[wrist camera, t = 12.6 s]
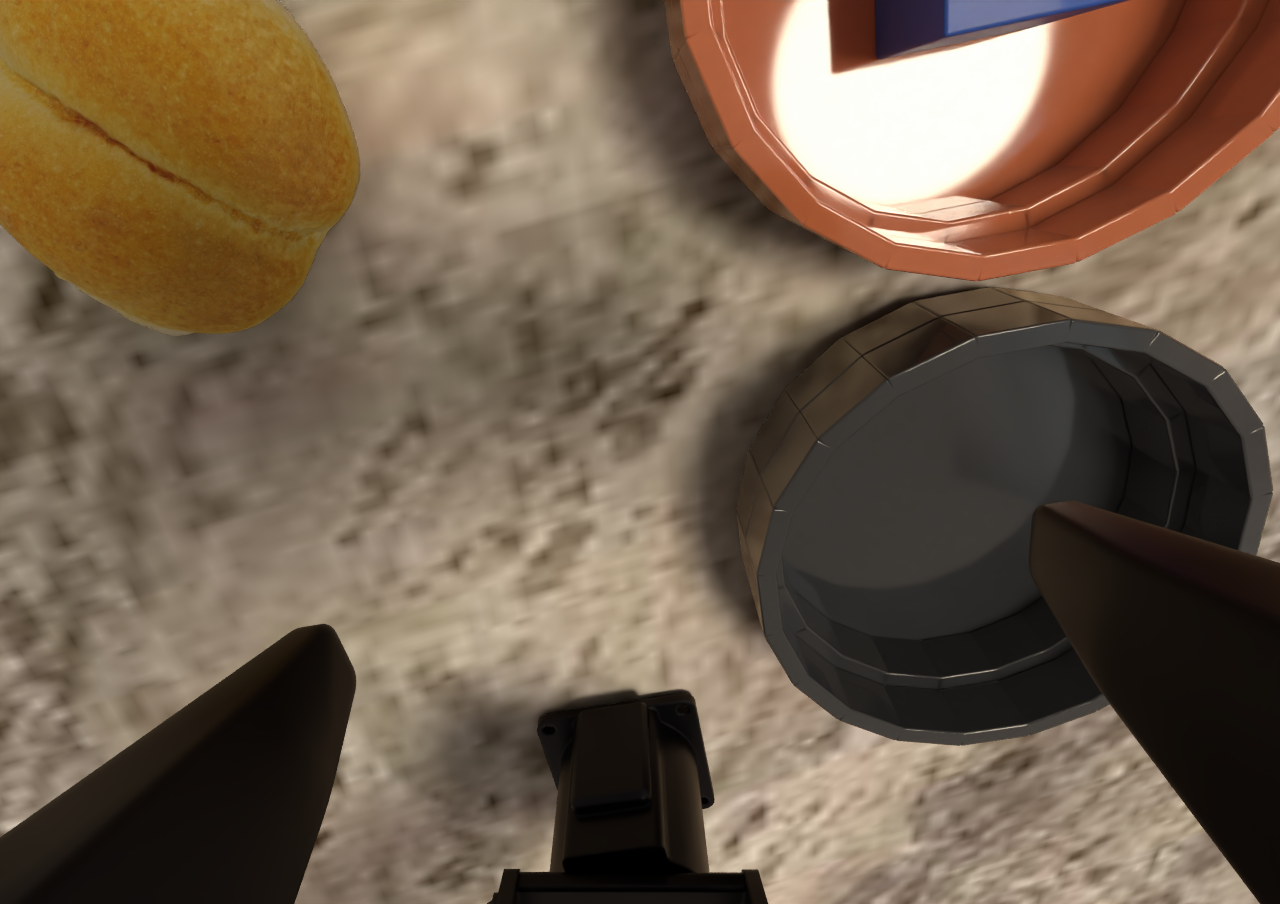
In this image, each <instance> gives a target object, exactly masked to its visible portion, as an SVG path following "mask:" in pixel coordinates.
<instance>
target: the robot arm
mask: <svg viewBox="0 0 1280 904" xmlns="http://www.w3.org/2000/svg"><path fill="white" fill-rule="evenodd" d="M1028 564H1029V570H1030V574H1031V576H1032V579H1033V581H1034V583H1035V584H1036V586H1037V588H1038V589H1039V591H1040V593H1041V594H1042V596H1043V598H1044V599H1045V601H1046V603H1047V604H1048V606H1049V608H1050V609H1051V611H1052V613H1053V614H1054V616H1055V618H1056V619H1057V621H1058V623H1059V624H1060V626H1061V628H1062V629H1063V631H1064V633H1065V634H1066V636H1067V638H1068V639H1069V641H1070V643H1071V644H1072V646H1073V648H1074V649H1075V651H1076V653H1077V654H1078V656H1079V658H1080V659H1081V661H1082V663H1083V664H1084V666H1085V668H1086V669H1087V671H1088V673H1089V674H1090V676H1091V677H1092V679H1093V680H1094V682H1095V683H1096V685H1097V687H1098V688H1099V689H1100V691H1101V692H1102V694H1103V695H1104V696H1105V698H1106V699H1107V701H1108V702H1109V703H1110V705H1111V706H1112V708H1113V709H1114V710H1115V712H1116V713H1117V714H1118V716H1119V717H1120V718H1121V720H1122V721H1123V722H1124V723H1125V725H1126V726H1127V727H1128V729H1129V730H1130V731H1131V733H1132V734H1133V735H1134V737H1135V738H1136V739H1137V741H1138V742H1139V743H1140V745H1141V746H1142V747H1143V749H1144V750H1145V751H1146V753H1147V754H1148V755H1149V757H1150V758H1151V759H1152V761H1153V762H1154V763H1155V765H1156V766H1157V767H1158V769H1159V770H1160V771H1161V773H1162V774H1163V775H1164V777H1165V778H1166V779H1167V781H1168V782H1169V783H1170V785H1171V786H1172V787H1173V789H1174V790H1175V791H1176V793H1177V794H1178V795H1179V797H1180V798H1181V799H1182V801H1183V802H1184V803H1185V805H1186V806H1187V807H1188V809H1189V810H1190V811H1191V813H1192V814H1193V815H1194V817H1195V818H1196V819H1197V821H1198V822H1199V823H1200V825H1201V826H1202V827H1203V829H1204V830H1205V831H1206V833H1207V834H1208V835H1209V837H1210V838H1211V839H1212V841H1213V842H1214V843H1215V845H1216V846H1217V847H1218V849H1219V850H1220V851H1221V853H1222V854H1223V855H1224V857H1225V858H1226V859H1227V860H1228V862H1229V863H1230V864H1231V866H1232V867H1233V868H1234V870H1235V871H1236V872H1237V874H1238V875H1239V876H1240V878H1241V879H1242V880H1243V882H1244V883H1245V884H1246V886H1247V887H1248V888H1249V890H1250V891H1251V892H1252V894H1253V895H1254V896H1255V898H1256V899H1257V900H1258V902H1259V903H1260V904H1280V563H1278V562H1274V561H1271V560H1268V559H1265V558H1261V557H1258V556H1255V555H1251V554H1248V553H1245V552H1242V551H1238V550H1235V549H1232V548H1228V547H1225V546H1222V545H1219V544H1215V543H1212V542H1209V541H1205V540H1202V539H1199V538H1196V537H1192V536H1189V535H1186V534H1182V533H1179V532H1176V531H1173V530H1169V529H1166V528H1163V527H1159V526H1156V525H1153V524H1150V523H1146V522H1143V521H1140V520H1136V519H1133V518H1130V517H1126V516H1123V515H1120V514H1117V513H1113V512H1110V511H1107V510H1103V509H1100V508H1097V507H1094V506H1090V505H1087V504H1084V503H1080V502H1077V501H1063V502H1057V503H1051V504H1045V505H1040V506H1039V507H1037V508H1036V509H1035V511H1034V513H1033V516H1032V523H1031V534H1030V546H1029V558H1028ZM355 689H356V675H355V671H354V668H353V666H352V664H351V662H350V660H349V658H348V655H347V653H346V651H345V649H344V647H343V645H342V643H341V641H340V639H339V637H338V635H337V633H336V632H335V630H334V629H333V628H332V627H331V626H330V625H327V624H319V625H313V626H307V627H301V628H297V629H295V630H293V631H291V632H290V633H288V634H287V635H286V636H284V637H283V638H281V639H280V640H279V641H277V642H276V643H274V644H273V645H272V646H270V647H269V648H267V649H266V650H264V651H263V652H262V653H260V654H259V655H257V656H256V657H255V658H253V659H252V660H250V661H249V662H248V663H246V664H245V665H243V666H242V667H240V668H239V669H238V670H236V671H235V672H233V673H232V674H231V675H229V676H228V677H226V678H225V679H223V680H222V681H221V682H219V683H218V684H216V685H215V686H214V687H212V688H211V689H209V690H208V691H207V692H205V693H204V694H202V695H201V696H199V697H198V698H197V699H195V700H194V701H192V702H191V703H190V704H188V705H187V706H185V707H184V708H183V709H181V710H180V711H178V712H177V713H175V714H174V715H173V716H171V717H170V718H168V719H167V720H166V721H164V722H163V723H161V724H160V725H158V726H157V727H156V728H154V729H153V730H151V731H150V732H149V733H147V734H146V735H144V736H143V737H142V738H140V739H139V740H137V741H136V742H134V743H133V744H132V745H130V746H129V747H127V748H126V749H125V750H123V751H122V752H120V753H119V754H118V755H116V756H115V757H113V758H112V759H110V760H109V761H108V762H106V763H105V764H103V765H102V766H101V767H99V768H98V769H96V770H95V771H94V772H92V773H91V774H89V775H88V776H86V777H85V778H84V779H82V780H81V781H79V782H78V783H77V784H75V785H74V786H72V787H71V788H69V789H68V790H67V791H65V792H64V793H62V794H61V795H60V796H58V797H57V798H55V799H54V800H53V801H51V802H50V803H48V804H47V805H45V806H44V807H43V808H41V809H40V810H38V811H37V812H36V813H34V814H33V815H31V816H30V817H29V818H27V819H26V820H24V821H23V822H21V823H20V824H19V825H17V826H16V827H14V828H13V829H12V830H10V831H9V832H7V833H6V834H4V835H3V836H2V837H0V904H294V903H295V900H296V897H297V894H298V891H299V888H300V885H301V883H302V880H303V877H304V874H305V871H306V868H307V865H308V862H309V859H310V856H311V853H312V850H313V847H314V845H315V842H316V839H317V836H318V833H319V830H320V827H321V824H322V821H323V818H324V815H325V812H326V808H327V805H328V802H329V798H330V795H331V791H332V787H333V783H334V779H335V775H336V771H337V767H338V762H339V758H340V754H341V750H342V745H343V741H344V737H345V733H346V728H347V724H348V720H349V715H350V711H351V707H352V703H353V698H354V694H355ZM682 705H686V706H685V707H680V706H682ZM548 726H552V727H548ZM537 733H538V736H539V739H540V741H541V744H542V747H543V750H544V753H545V756H546V759H547V761H548V764H549V767H550V770H551V773H552V776H553V778H554V781H555V784H556V787H557V790H558V796H557V806H556V816H555V825H554V835H553V845H552V854H551V864H550V872H520V869H504V871H503V876H502V880H501V884H500V888H499V892H498V893H494V895H493V899H492V901H490V902H488V903H487V904H768V902H767V898H766V895H765V892H764V888H763V885H762V881H761V878H760V874H759V871H758V870H742V872H741V873H709V864H708V856H707V847H706V839H705V830H704V821H703V813H702V809H705V808H709V807H710V806H712V805H713V803H714V793H713V787H712V782H711V777H710V772H709V767H708V762H707V757H706V752H705V747H704V742H703V738H702V733H701V728H700V723H699V718H698V713H697V708H696V703H695V699H694V697H693V696H691V695H690V694H687V693H679V694H672V695H666V696H659V697H653V698H646V699H640V700H633V701H626V702H620V703H613V704H607V705H600V706H594V707H587V708H581V709H574V710H568V711H561V712H555V713H548V714H545V715H542V716H541V717H540V718H539V720H538V725H537Z"/></svg>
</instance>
